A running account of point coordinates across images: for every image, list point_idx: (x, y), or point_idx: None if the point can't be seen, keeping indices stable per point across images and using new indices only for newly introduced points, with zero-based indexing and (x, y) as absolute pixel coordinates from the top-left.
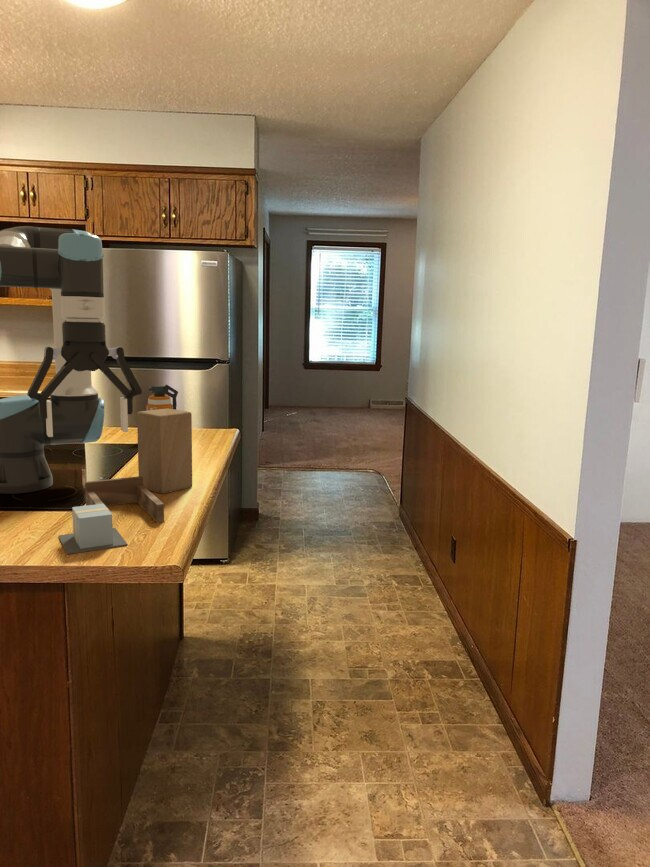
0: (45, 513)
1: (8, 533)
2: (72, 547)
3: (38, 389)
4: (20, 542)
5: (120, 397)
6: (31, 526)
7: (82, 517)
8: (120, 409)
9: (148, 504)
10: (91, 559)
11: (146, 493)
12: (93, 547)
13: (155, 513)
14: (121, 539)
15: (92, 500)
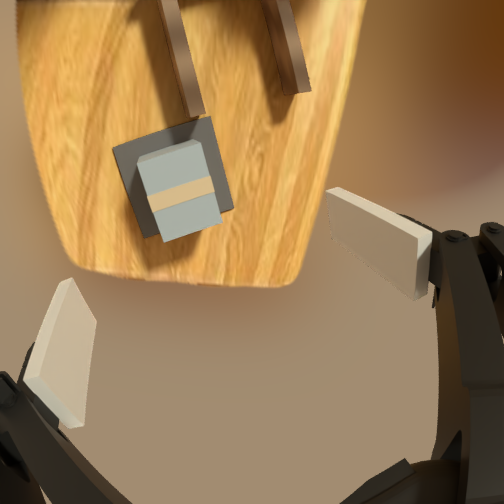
0: (76, 9)
1: (29, 123)
2: (147, 213)
3: (36, 481)
4: (57, 172)
5: (419, 242)
6: (58, 84)
7: (169, 238)
8: (376, 219)
9: (278, 36)
10: (184, 259)
11: (281, 9)
12: None
13: (287, 82)
14: (223, 183)
15: (167, 27)
